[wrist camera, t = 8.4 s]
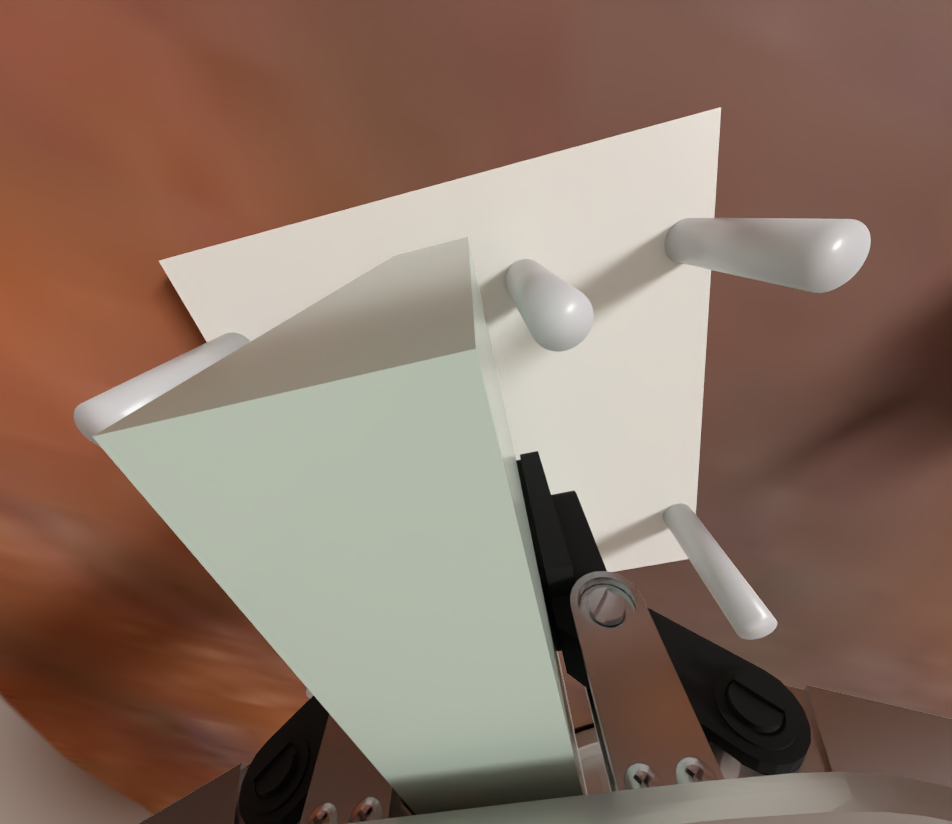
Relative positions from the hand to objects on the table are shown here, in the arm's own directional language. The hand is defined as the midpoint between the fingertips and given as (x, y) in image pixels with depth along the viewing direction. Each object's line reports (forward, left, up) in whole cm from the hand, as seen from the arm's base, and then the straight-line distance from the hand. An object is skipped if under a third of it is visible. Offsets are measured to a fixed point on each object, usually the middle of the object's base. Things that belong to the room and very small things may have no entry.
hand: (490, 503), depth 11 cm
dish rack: (0, 0, -5) cm, 5 cm away
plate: (0, 0, -2) cm, 2 cm away
